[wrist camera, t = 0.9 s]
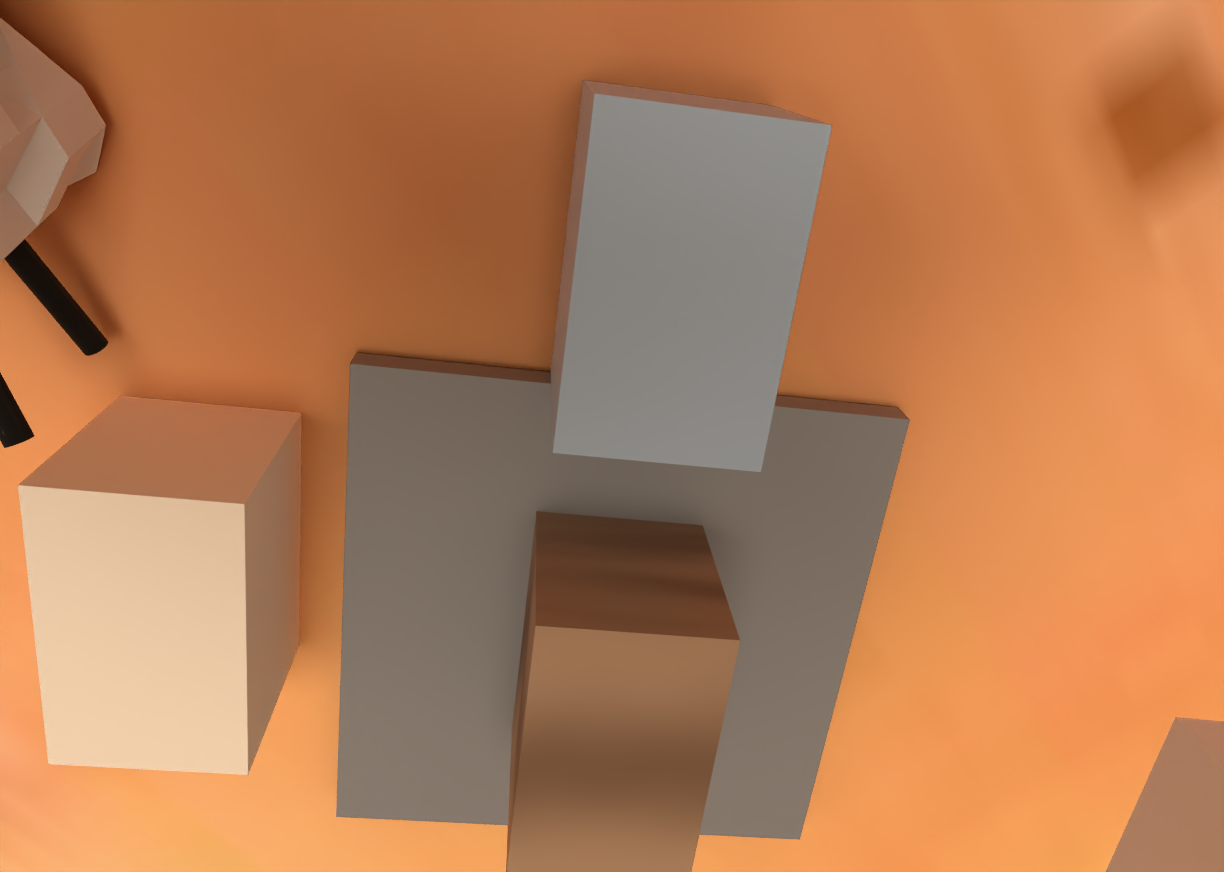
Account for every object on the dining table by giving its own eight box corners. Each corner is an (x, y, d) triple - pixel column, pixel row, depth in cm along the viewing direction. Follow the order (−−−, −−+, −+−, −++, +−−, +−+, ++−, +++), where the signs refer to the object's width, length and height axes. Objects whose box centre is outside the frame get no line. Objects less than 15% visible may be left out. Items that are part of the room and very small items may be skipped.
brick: (122, 394, 28) (17, 485, 22) (302, 411, 28) (244, 504, 23) (137, 631, 31) (48, 763, 25) (299, 642, 31) (248, 774, 26)
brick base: (536, 510, 29) (535, 625, 23) (702, 525, 29) (739, 640, 24) (511, 730, 32) (505, 877, 26) (663, 739, 32) (688, 885, 27)
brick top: (583, 79, 25) (594, 93, 20) (769, 104, 26) (831, 125, 20) (550, 370, 28) (552, 453, 23) (718, 387, 29) (760, 471, 23)
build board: (356, 352, 28) (350, 363, 27) (898, 407, 29) (909, 419, 28) (341, 795, 34) (336, 816, 33) (792, 818, 35) (799, 839, 34)
